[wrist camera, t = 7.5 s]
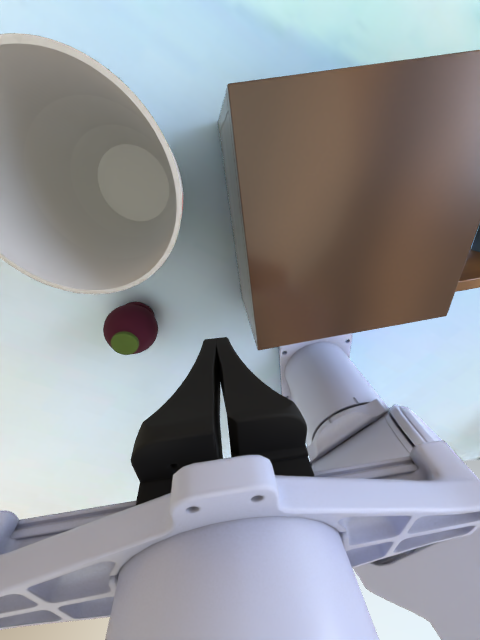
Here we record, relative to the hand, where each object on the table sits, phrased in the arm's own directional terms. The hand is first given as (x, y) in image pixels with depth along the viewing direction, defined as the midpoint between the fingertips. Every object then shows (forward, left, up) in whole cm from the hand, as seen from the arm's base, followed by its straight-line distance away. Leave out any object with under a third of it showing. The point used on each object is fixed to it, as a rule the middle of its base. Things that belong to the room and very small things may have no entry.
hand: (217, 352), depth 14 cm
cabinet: (+5, -9, -9) cm, 14 cm away
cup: (+9, +4, -10) cm, 14 cm away
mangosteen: (-2, +7, -10) cm, 12 cm away
